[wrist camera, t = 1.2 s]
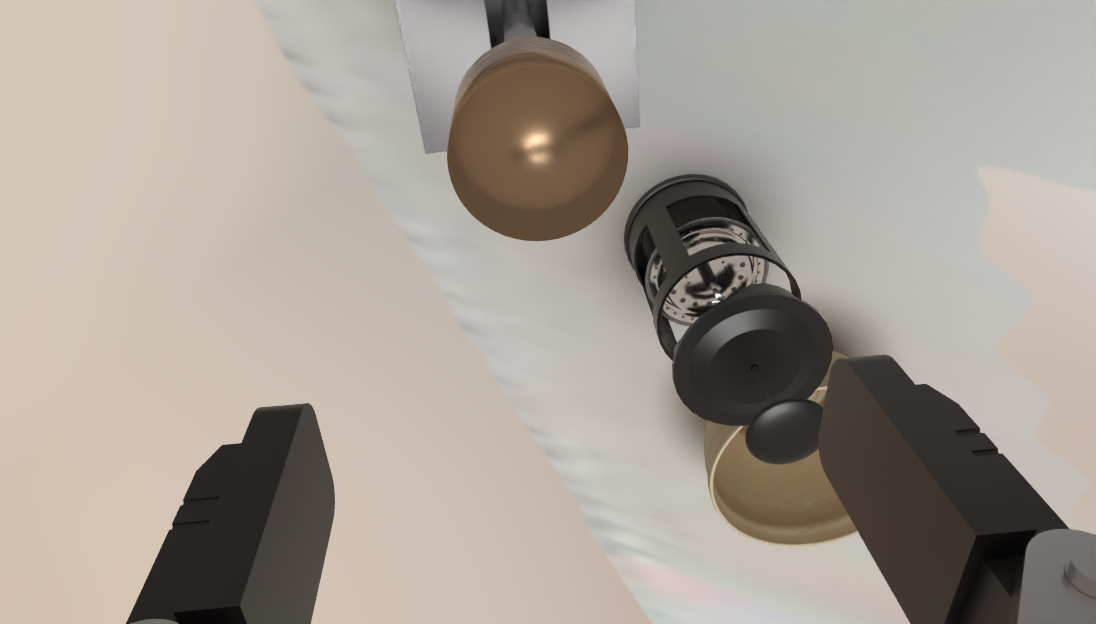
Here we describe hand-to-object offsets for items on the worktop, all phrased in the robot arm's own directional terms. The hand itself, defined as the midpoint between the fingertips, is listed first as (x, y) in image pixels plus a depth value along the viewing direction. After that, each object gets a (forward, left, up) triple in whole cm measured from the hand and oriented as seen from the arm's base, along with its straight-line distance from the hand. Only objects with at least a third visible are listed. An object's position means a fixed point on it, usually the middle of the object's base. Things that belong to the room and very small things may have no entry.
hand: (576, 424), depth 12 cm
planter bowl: (-18, +33, -41) cm, 56 cm away
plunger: (0, -2, -31) cm, 31 cm away
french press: (-11, +18, -41) cm, 46 cm away
